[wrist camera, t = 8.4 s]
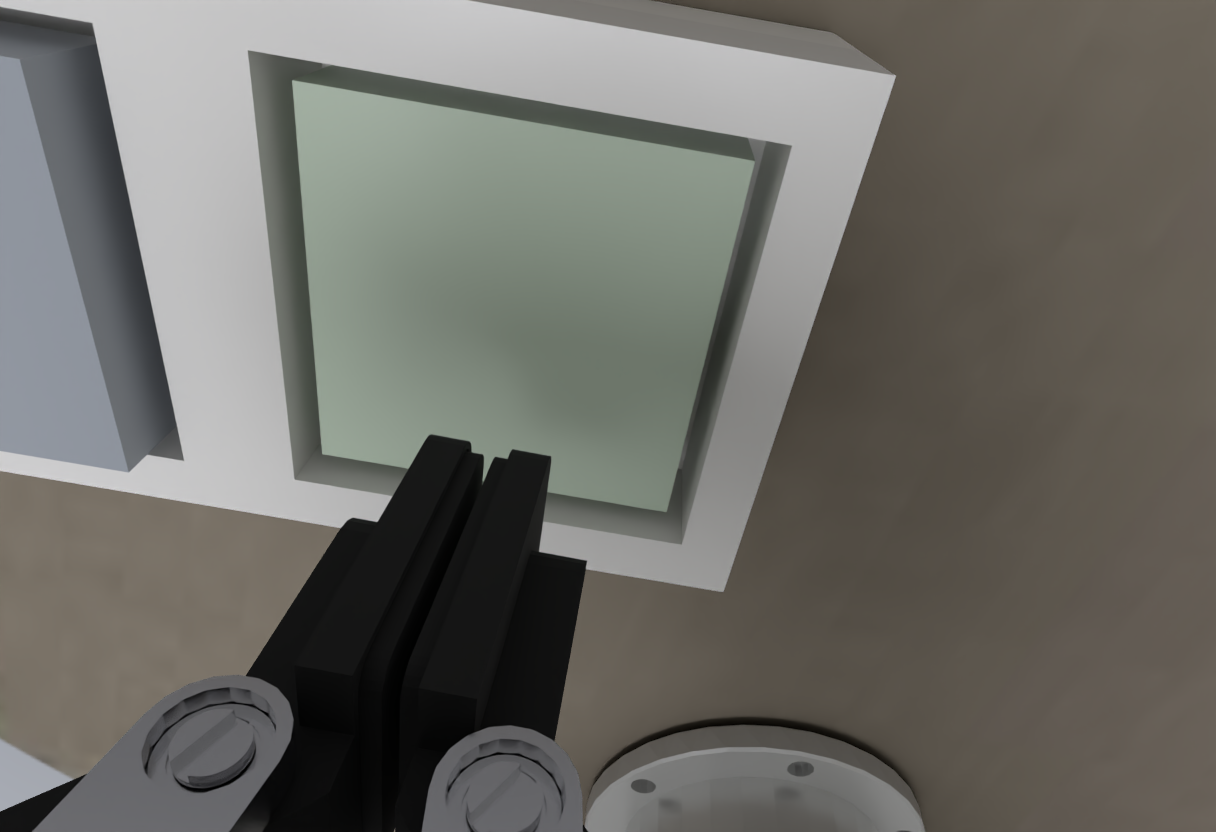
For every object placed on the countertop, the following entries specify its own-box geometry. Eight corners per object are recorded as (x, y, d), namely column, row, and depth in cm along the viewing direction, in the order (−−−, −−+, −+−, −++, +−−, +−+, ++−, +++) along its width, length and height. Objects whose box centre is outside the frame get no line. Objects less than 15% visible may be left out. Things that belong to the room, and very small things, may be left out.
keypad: (833, 32, 14) (895, 75, 10) (714, 451, 20) (723, 592, 16) (-758, -250, 14) (-1380, -327, 10) (-426, 258, 19) (-731, 348, 15)
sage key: (745, 131, 13) (755, 161, 11) (668, 453, 17) (666, 512, 15) (343, 60, 13) (292, 80, 11) (358, 401, 17) (322, 453, 15)
